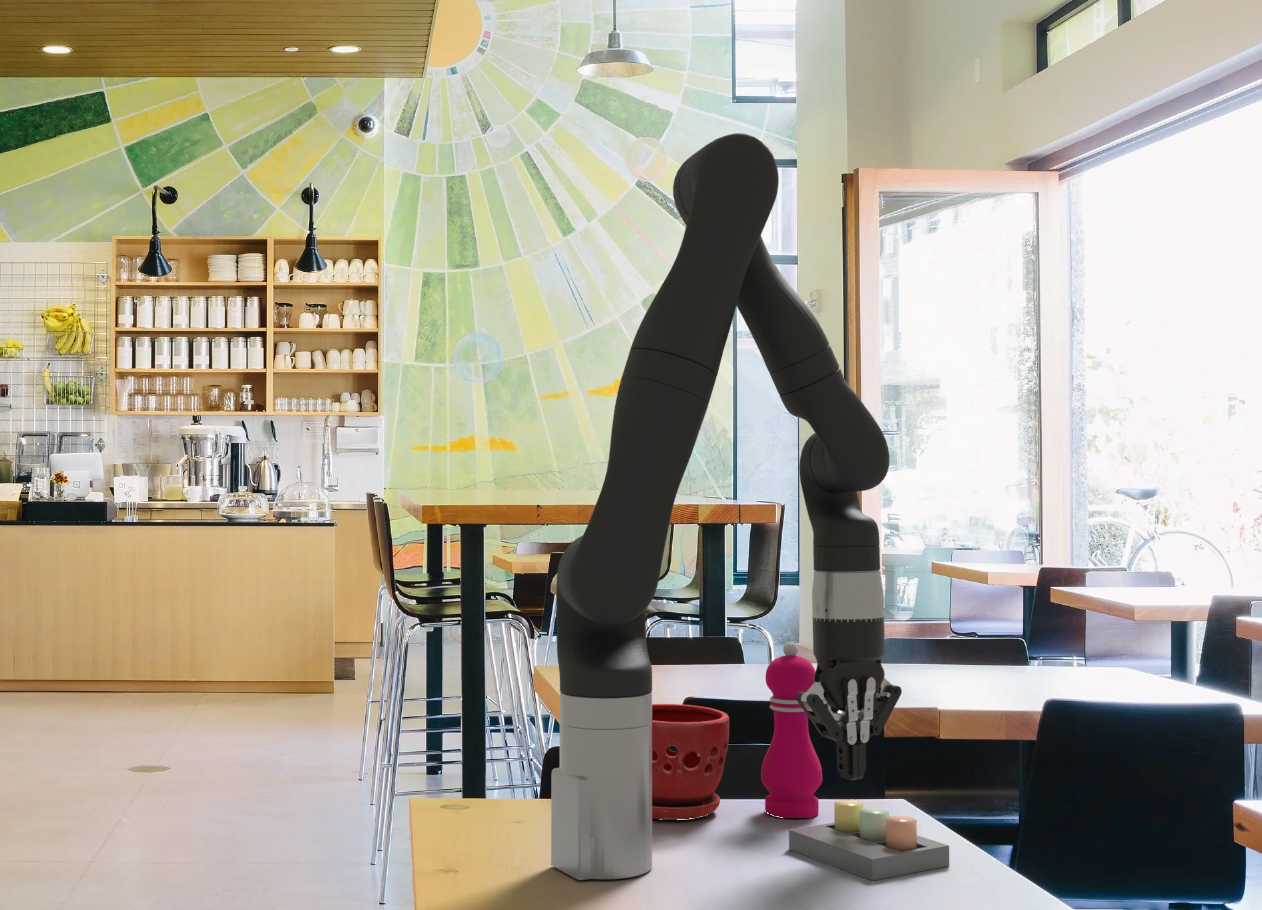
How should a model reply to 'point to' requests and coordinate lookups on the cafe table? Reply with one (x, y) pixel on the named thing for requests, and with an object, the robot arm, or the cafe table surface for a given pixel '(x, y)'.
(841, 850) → the panel
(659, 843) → the cafe table surface
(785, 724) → the pepper mill
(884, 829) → the sage button
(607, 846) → the robot arm
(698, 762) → the plant pot
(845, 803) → the ochre button
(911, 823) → the terracotta button
